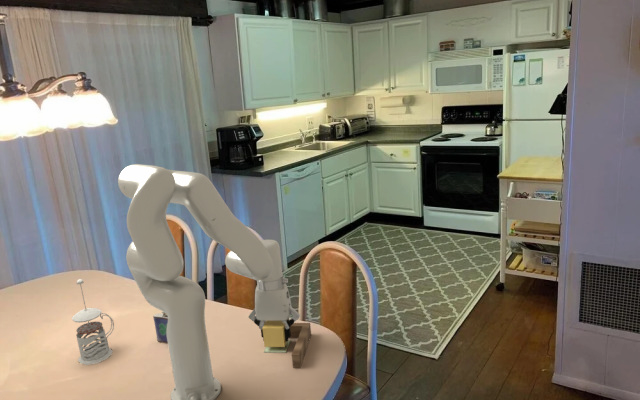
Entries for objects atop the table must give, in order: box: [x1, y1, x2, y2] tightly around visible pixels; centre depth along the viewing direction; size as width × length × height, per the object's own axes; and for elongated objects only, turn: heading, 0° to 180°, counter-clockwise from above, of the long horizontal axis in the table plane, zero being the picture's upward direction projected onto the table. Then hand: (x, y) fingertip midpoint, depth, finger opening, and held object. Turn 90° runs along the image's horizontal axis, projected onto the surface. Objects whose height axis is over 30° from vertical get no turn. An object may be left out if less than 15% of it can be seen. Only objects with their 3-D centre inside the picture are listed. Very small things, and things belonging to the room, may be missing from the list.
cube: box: [262, 321, 286, 348], centre depth 144 cm, size 6×6×6 cm
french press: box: [71, 278, 115, 366], centre depth 146 cm, size 10×12×25 cm
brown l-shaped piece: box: [263, 322, 312, 369], centre depth 142 cm, size 18×12×4 cm
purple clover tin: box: [152, 311, 168, 345], centre depth 152 cm, size 9×3×11 cm, turn 65°
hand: (276, 338), depth 145 cm, fingers closed on cube, 5 cm apart
